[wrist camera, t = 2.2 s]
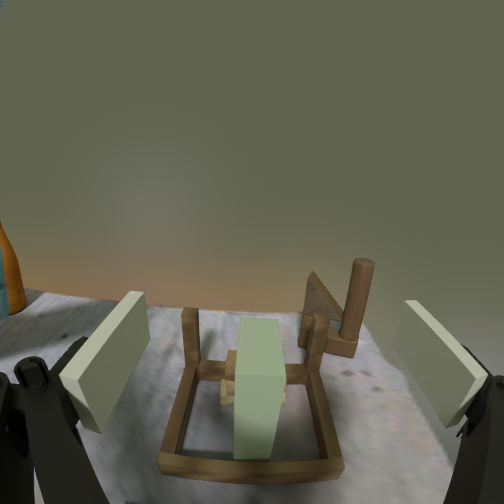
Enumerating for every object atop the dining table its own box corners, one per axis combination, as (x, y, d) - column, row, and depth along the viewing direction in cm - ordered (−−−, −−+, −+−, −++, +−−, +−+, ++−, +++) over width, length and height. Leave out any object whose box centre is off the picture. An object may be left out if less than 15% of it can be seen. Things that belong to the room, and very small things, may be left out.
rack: (161, 474, 23) (138, 413, 20) (189, 371, 42) (184, 307, 39) (337, 478, 23) (372, 419, 20) (313, 376, 42) (326, 313, 39)
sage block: (233, 467, 26) (235, 374, 21) (236, 414, 34) (239, 317, 29) (268, 468, 26) (286, 375, 21) (266, 415, 34) (278, 319, 29)
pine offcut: (220, 407, 36) (220, 395, 35) (221, 391, 39) (220, 379, 38) (283, 407, 36) (285, 395, 36) (280, 391, 40) (282, 379, 39)
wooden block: (302, 337, 54) (314, 249, 48) (355, 348, 50) (375, 259, 44) (297, 347, 50) (310, 254, 45) (353, 359, 46) (376, 266, 41)
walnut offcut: (225, 380, 35) (225, 366, 34) (228, 364, 38) (228, 350, 37) (278, 384, 34) (280, 370, 34) (278, 367, 38) (280, 353, 37)
